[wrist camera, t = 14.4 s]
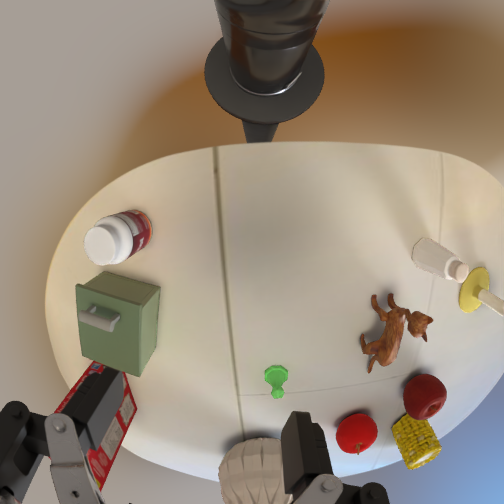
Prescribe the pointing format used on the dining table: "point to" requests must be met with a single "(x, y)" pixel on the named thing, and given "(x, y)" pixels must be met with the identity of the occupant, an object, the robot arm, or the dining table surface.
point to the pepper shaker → (439, 260)
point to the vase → (253, 473)
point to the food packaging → (115, 432)
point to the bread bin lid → (109, 329)
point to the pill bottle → (117, 237)
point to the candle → (478, 293)
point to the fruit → (356, 433)
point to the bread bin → (138, 294)
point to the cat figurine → (393, 331)
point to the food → (415, 441)
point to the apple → (424, 396)
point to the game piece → (276, 379)
